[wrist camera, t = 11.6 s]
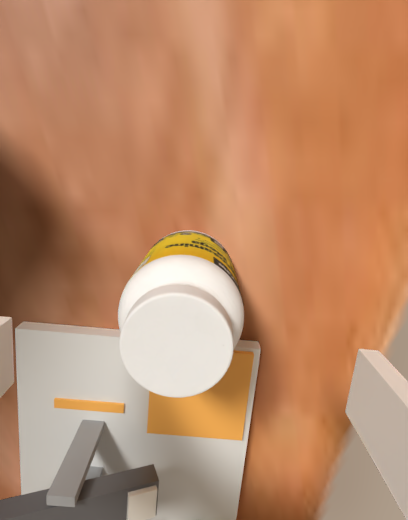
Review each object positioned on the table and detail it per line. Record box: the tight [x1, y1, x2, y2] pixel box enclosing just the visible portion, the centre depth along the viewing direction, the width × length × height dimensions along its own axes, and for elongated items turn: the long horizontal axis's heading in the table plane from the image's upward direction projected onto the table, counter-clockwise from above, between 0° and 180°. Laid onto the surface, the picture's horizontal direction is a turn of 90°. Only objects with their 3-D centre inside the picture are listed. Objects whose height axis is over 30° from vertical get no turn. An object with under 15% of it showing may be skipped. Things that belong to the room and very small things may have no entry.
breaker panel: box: [15, 321, 261, 520], centre depth 25 cm, size 17×18×8 cm
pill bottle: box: [118, 230, 244, 398], centre depth 20 cm, size 6×6×11 cm
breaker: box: [0, 464, 159, 520], centre depth 22 cm, size 11×3×2 cm, turn 83°
